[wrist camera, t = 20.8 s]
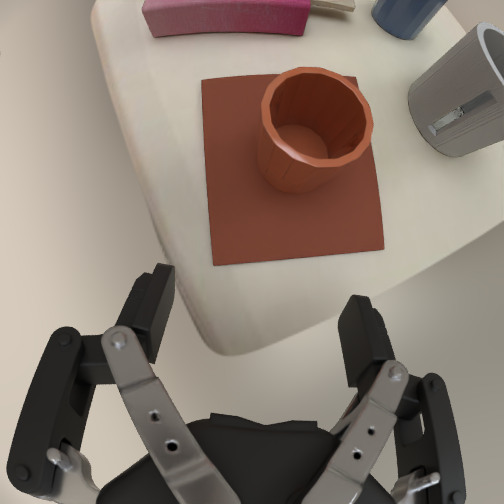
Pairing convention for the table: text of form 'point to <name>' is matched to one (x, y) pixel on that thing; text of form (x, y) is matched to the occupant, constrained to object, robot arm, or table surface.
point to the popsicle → (233, 15)
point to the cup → (463, 94)
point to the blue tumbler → (405, 15)
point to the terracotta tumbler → (310, 129)
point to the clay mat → (270, 199)
